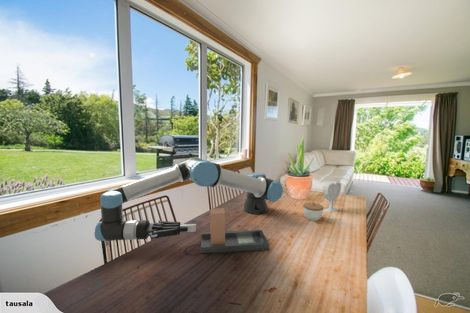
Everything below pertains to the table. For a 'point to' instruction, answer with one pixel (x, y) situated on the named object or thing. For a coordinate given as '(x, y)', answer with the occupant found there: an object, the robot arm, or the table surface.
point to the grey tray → (236, 242)
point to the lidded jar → (313, 211)
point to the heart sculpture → (331, 194)
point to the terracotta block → (217, 226)
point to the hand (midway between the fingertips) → (195, 227)
